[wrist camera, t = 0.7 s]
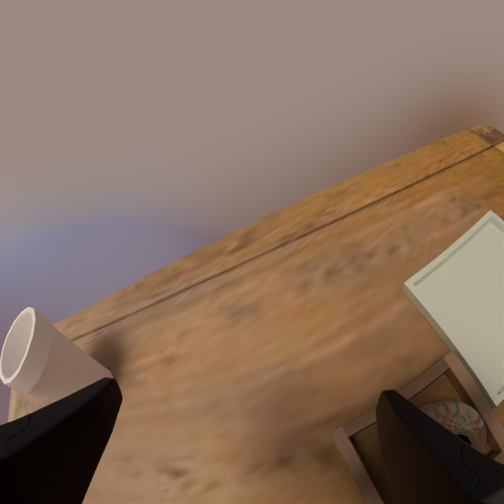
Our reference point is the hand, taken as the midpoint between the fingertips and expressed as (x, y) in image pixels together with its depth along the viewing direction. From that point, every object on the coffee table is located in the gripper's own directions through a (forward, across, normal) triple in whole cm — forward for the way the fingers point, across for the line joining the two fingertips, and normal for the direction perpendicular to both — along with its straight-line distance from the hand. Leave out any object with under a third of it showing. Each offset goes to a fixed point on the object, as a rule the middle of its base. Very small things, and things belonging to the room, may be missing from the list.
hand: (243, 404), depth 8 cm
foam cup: (+16, +21, +18) cm, 31 cm away
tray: (+11, -21, +2) cm, 24 cm away
